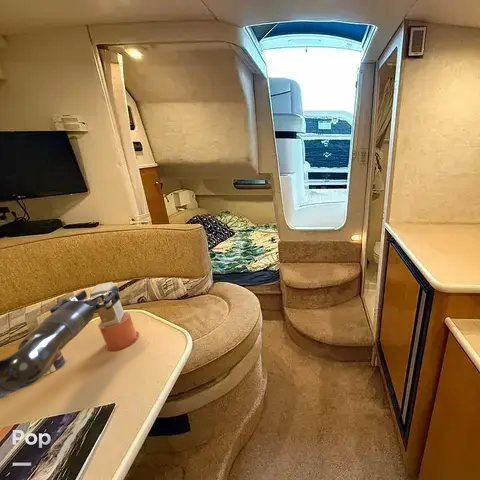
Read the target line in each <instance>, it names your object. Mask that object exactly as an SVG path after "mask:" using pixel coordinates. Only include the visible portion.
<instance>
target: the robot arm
mask: <svg viewBox="0 0 480 480" xmlns="http://www.w3.org/2000/svg"><path fill="white" fill-rule="evenodd" d="M119 292H120V289H119V287H118V286H117V285H114V286H113V287H112V288H111V289H110V290H109V291H108V292H106V293H104V294H98V295H96V296H94V297H88V294H87V292H86V290H85V289H84V290H80V291H79V292H78V293H77V294H75V295H73V296H70V297H69V299H67V298H63V299H61V300H60V301H58V302H57V303H56V304H55V305H54V306H53V307H51V308H50V309H49V311H50V314H49V315H48V316H47V317H46V318H44V320H42V322H40V324H38V326H36V327H35V328H34V329H32V331H30V332H29V333H28V334H27V335H26V336H25V337H24V338H23V339H22V340H21V341H20V342H19V344H18V346H17V350H16V351H14V352H13V353H11V354H9V355H7V356H4V357H2V358H0V400H2V399H4V398H6V397H9V396H11V395H13V394H15V393H17V392H20V391H22V390H24V389H26V388H29V387H31V386H33V385H34V384H36V383H37V382H39V381H40V380H41V379H43V377H45V376H46V375H47V374H46V373H47V372H48V371H49V370H50V368H51V366H52V364H53V363H54V361H55V359H56V357H57V355H58V353H59V352H60V351H61V352H62V350H63V349H64V348H65V347H66V346H67V344H68V343H70V342H71V341H72V340H73V339H75V338H76V337H77V336H78V335H79V334H80V333H81V332H82V331H83V330H84V329H85V328H86V327H87V325H88V324H89V323H90V322H91V321H92V320H93V318H94V314H95V312H97V310H99V309H100V308H102V307H105V308H106V310H108V309H110V308H111V307H112V306H113V305H114V304H115V303H116V302H117V301H118V300H121V297H120V293H119ZM107 295H108V297H107V298H106V299H105V296H107ZM97 298H100V301H101V303H99V302H98V300H97Z"/></svg>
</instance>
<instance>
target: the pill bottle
mask: <svg viewBox="0 0 480 480" xmlns="http://www.w3.org/2000/svg"><path fill="white" fill-rule="evenodd" d="M65 363H66V360H65V358H64V356H63V354H62V350H61V351H60V352H59V353H58V355H57V357H56V359H55V361H54V363H53V364H52V366H51V368H50V370H49V371H48V372H47V373H46V374H45V375H49V374H52V373H54V372H55V371H57V370H59V369H61V368H62V367H63V366H64V364H65Z"/></svg>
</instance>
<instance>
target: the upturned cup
mask: <svg viewBox="0 0 480 480" xmlns="http://www.w3.org/2000/svg"><path fill="white" fill-rule="evenodd" d="M97 326H98V329H99V331H100V334H101V336H102V339H103V341H104V343H105V345H104V348H105V350H106V351H107V352H111V353H112V352H118V351H122V350H124V349H127V348H129V347H131V346H132V345H133V344H135V343H136V342H137V341H138V339H139V337H140V333H139V332H138V331H137V330H136V327H135V325H134V322H133V318H132V316H131V314H130V313H129V312H127V311H124V315H123V317H122V319H121V321H120V323H118V324H114V325H110V326H106V327H104V326H103V324H102V321H101V320H100V322H99V323H98V325H97Z"/></svg>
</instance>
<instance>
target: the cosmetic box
mask: <svg viewBox="0 0 480 480" xmlns="http://www.w3.org/2000/svg"><path fill="white" fill-rule="evenodd" d="M113 286H115V284H114V281H109V282H103V283H97V284H96V285H95V286H94V288H93V289H92V290H91V291H90V294H89V295H90V298H92V297H94V296H96V295H98V294H104V293H106V292H108V291H109V290H110V289H111V288H112V287H113ZM107 297H108V295H107V296H105V299H106V298H107ZM97 300H98V302H99V303H101V301H100V298H97ZM96 312H97V314H98V316H99V319H100V322H101V321H102V324H103V326H104V327H106V326H110V325H114V324H118V323H120V321H121V319H122V317H123V315H124V312H125V310H124V308H123V306H122V303H121V299H119V300H118V301H117V302H116V303H115V304H114V305H113V306H112V307H111V308H110V309H108V310H106V308H105V307H102V308H100V309H99V310H97V311H96Z"/></svg>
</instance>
